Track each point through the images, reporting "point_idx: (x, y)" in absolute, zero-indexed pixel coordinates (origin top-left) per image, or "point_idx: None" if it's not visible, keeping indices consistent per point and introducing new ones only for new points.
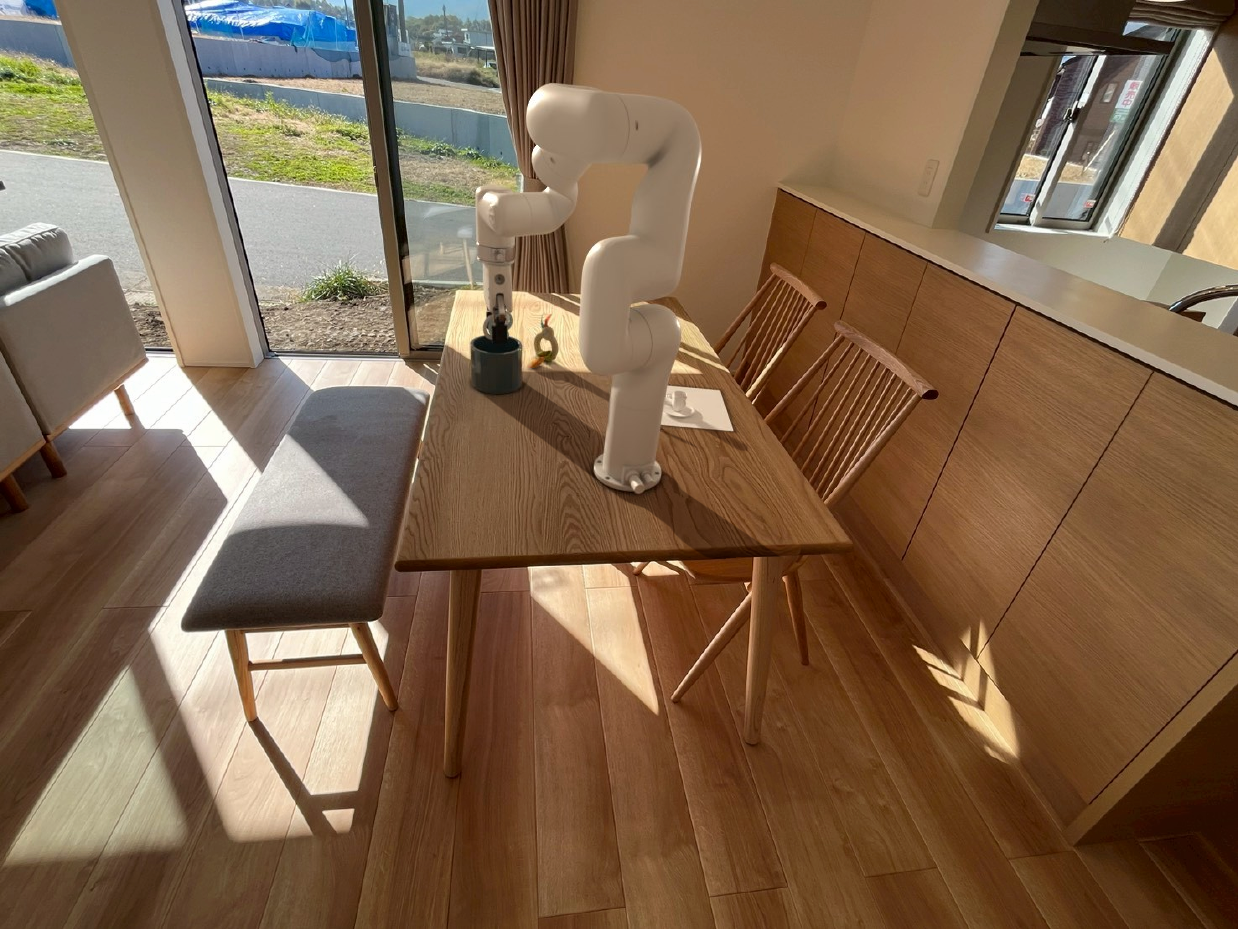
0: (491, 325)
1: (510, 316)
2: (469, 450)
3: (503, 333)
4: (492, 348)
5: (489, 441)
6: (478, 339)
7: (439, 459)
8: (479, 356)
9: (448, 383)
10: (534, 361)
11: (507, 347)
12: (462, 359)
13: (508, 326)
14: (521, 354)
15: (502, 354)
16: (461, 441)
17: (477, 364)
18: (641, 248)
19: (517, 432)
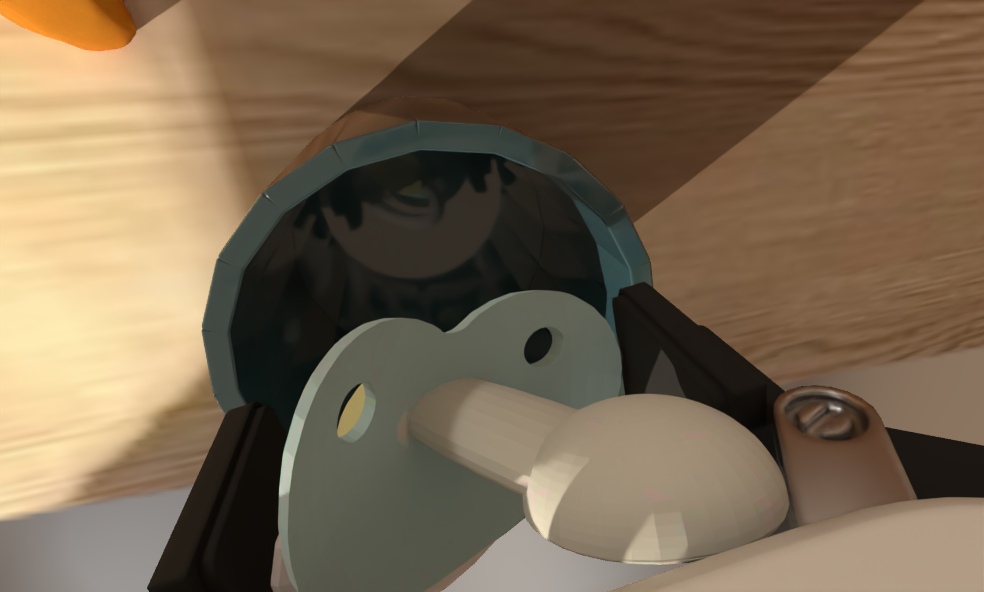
0: (470, 516)
1: (319, 414)
2: (963, 250)
3: (748, 364)
4: (281, 356)
5: (931, 192)
6: None
7: (978, 323)
8: None
9: None
10: (61, 9)
11: (264, 256)
12: (171, 447)
13: (412, 350)
14: (484, 117)
15: (651, 275)
16: (903, 286)
17: None
18: None
19: (901, 82)
